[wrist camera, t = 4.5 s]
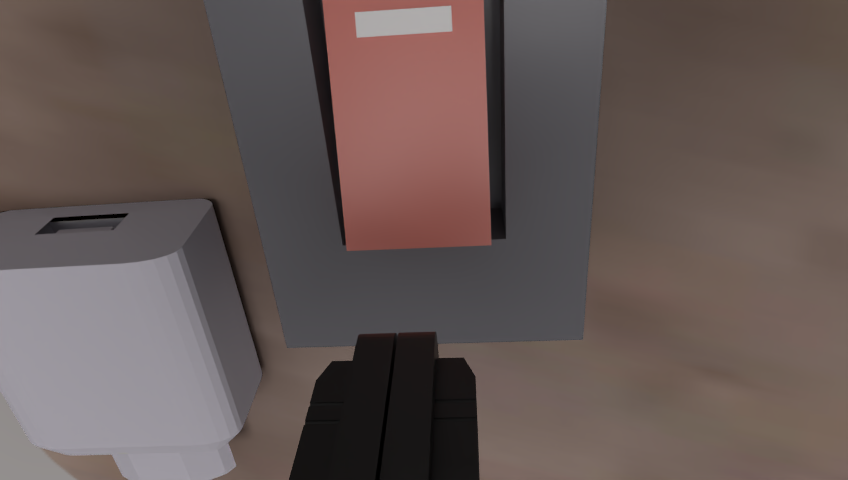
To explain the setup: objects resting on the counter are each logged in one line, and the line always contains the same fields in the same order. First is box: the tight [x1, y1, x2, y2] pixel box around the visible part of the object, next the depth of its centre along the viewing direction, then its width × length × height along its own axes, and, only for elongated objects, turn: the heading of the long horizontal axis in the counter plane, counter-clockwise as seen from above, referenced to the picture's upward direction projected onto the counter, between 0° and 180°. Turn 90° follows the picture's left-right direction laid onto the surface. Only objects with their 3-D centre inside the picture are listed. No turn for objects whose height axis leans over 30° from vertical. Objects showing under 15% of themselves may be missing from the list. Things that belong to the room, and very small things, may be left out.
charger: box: [0, 199, 262, 480], centre depth 27 cm, size 5×9×15 cm
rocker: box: [322, 0, 491, 251], centre depth 17 cm, size 7×4×2 cm, turn 4°
